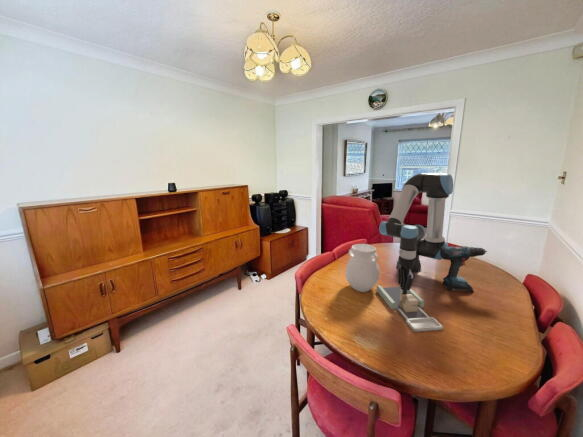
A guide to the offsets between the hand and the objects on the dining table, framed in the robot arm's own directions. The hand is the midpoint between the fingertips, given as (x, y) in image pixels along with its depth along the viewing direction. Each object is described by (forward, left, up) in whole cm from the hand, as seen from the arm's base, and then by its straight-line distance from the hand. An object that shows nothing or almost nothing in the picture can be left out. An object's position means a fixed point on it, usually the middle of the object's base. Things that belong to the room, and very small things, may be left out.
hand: (402, 299), depth 128 cm
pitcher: (-18, -15, -2) cm, 24 cm away
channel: (-5, 0, -2) cm, 5 cm away
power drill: (-12, +40, -2) cm, 41 cm away
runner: (-1, 0, -2) cm, 2 cm away
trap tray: (+18, 0, -2) cm, 18 cm away
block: (+5, 0, -2) cm, 5 cm away
